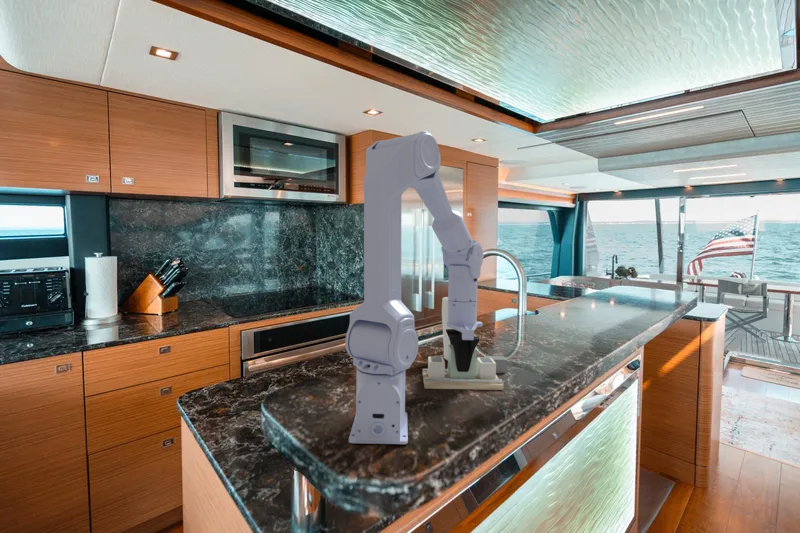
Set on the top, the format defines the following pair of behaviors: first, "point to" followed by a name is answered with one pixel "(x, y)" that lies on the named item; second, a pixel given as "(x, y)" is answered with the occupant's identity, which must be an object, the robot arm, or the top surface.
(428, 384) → the rail panel
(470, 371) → the box
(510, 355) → the top surface
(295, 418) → the top surface
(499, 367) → the block
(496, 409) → the top surface
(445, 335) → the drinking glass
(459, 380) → the din rail
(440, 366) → the mounted modules
